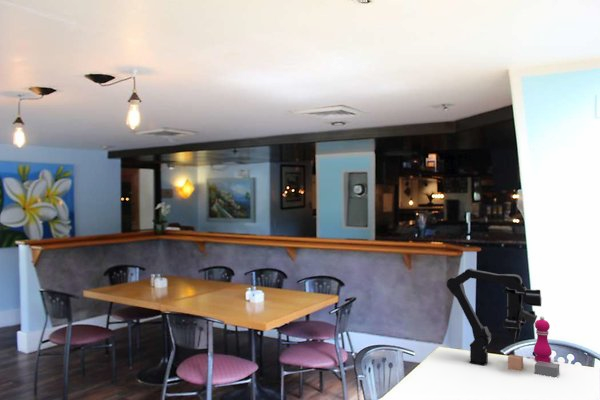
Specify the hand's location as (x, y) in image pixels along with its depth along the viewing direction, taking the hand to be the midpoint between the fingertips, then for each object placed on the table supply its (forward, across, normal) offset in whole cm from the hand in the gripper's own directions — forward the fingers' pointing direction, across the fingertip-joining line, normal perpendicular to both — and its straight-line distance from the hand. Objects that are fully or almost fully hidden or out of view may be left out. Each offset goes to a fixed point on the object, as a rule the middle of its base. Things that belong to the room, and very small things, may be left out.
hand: (515, 341), depth 201 cm
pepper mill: (+12, +19, -8) cm, 24 cm away
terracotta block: (+12, 0, 0) cm, 12 cm away
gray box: (+12, 0, -12) cm, 17 cm away
